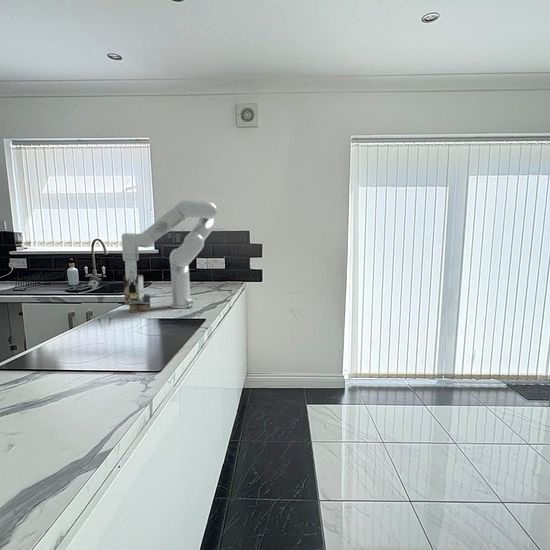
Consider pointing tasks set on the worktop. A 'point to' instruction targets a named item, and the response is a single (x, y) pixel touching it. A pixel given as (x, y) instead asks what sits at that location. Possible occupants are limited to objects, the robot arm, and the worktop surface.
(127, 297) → the coffee box
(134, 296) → the instrument plate
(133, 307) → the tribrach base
